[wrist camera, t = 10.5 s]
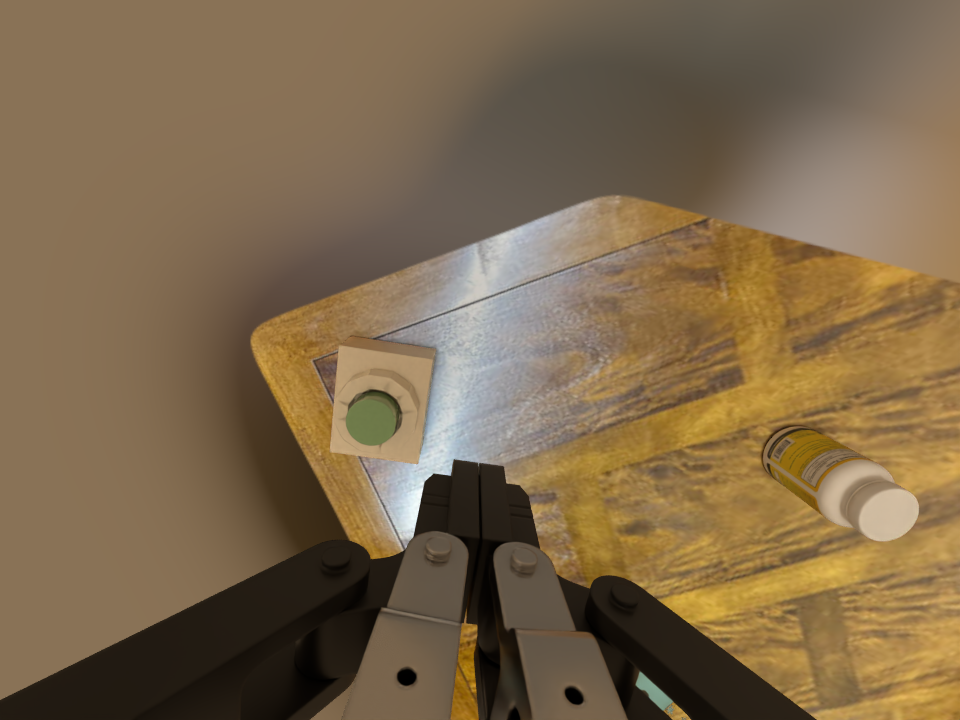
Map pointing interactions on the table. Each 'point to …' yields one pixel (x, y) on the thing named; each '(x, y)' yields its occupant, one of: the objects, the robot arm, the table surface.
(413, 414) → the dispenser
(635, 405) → the table surface
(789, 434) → the pill bottle
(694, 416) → the table surface
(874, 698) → the table surface
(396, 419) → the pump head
